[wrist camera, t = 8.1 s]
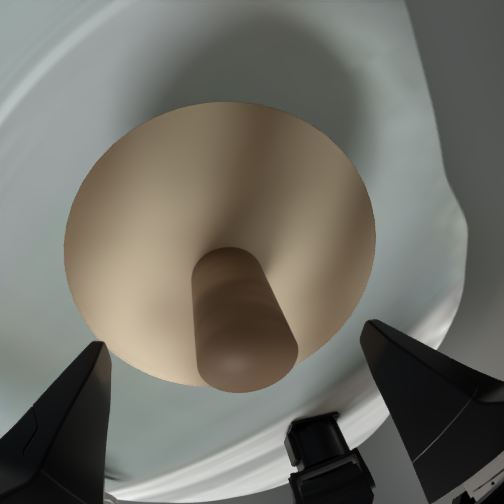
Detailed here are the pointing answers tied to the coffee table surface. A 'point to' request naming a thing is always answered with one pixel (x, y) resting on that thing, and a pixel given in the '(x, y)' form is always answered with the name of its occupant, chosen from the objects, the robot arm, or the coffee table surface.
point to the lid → (219, 245)
